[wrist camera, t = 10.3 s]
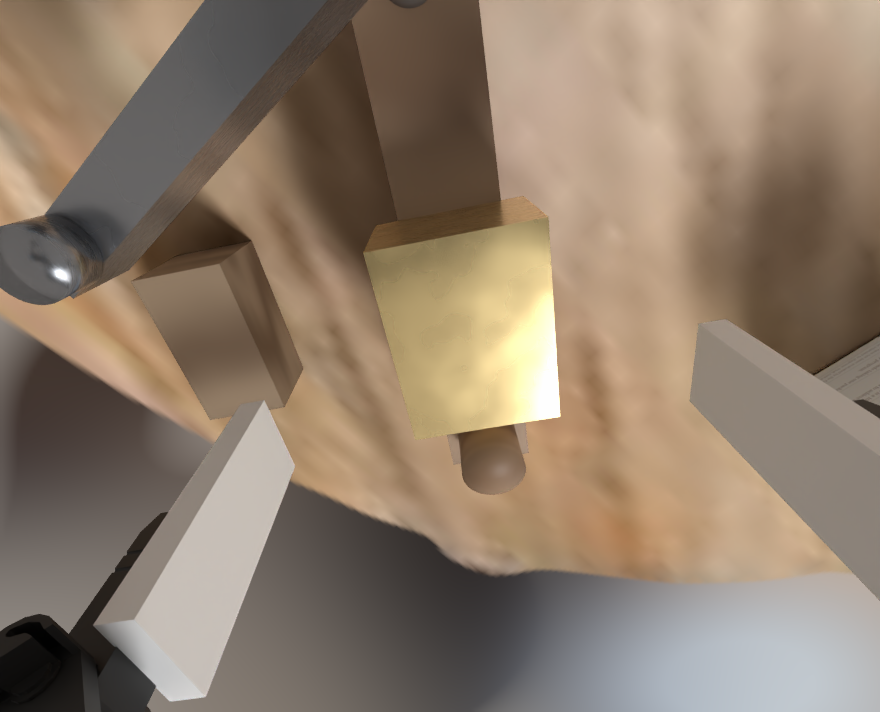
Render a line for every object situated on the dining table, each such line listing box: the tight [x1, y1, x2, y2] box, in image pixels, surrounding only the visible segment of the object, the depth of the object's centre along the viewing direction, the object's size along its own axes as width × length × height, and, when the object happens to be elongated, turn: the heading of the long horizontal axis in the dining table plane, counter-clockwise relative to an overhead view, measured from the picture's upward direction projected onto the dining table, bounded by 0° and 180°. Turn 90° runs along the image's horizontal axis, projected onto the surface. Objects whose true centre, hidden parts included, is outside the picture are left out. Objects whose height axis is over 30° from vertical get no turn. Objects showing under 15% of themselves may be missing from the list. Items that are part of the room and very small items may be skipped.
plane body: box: [351, 0, 529, 495], centre depth 19 cm, size 22×4×9 cm, turn 11°
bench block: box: [131, 241, 303, 420], centre depth 23 cm, size 8×4×4 cm, turn 11°
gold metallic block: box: [363, 196, 560, 440], centre depth 17 cm, size 8×6×4 cm
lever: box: [0, 0, 368, 305], centre depth 9 cm, size 14×3×4 cm, turn 130°
